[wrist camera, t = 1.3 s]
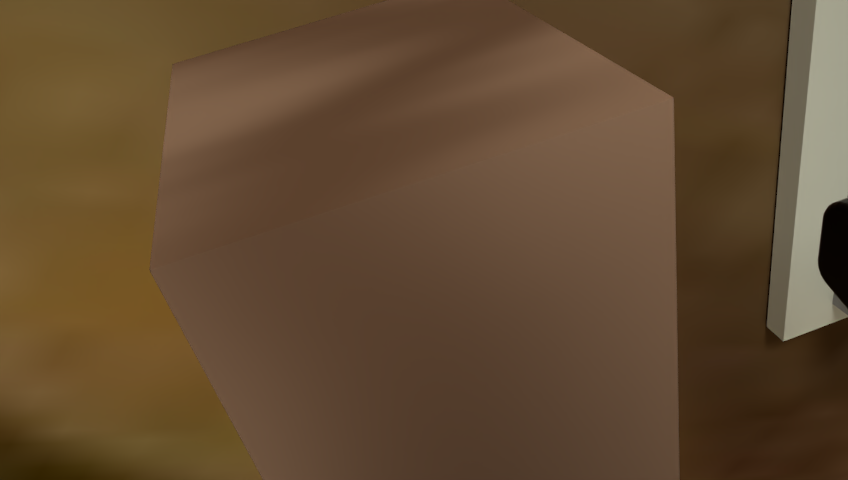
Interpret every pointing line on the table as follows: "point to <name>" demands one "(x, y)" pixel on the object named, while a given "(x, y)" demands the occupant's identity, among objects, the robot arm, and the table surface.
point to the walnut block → (427, 248)
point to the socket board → (810, 166)
